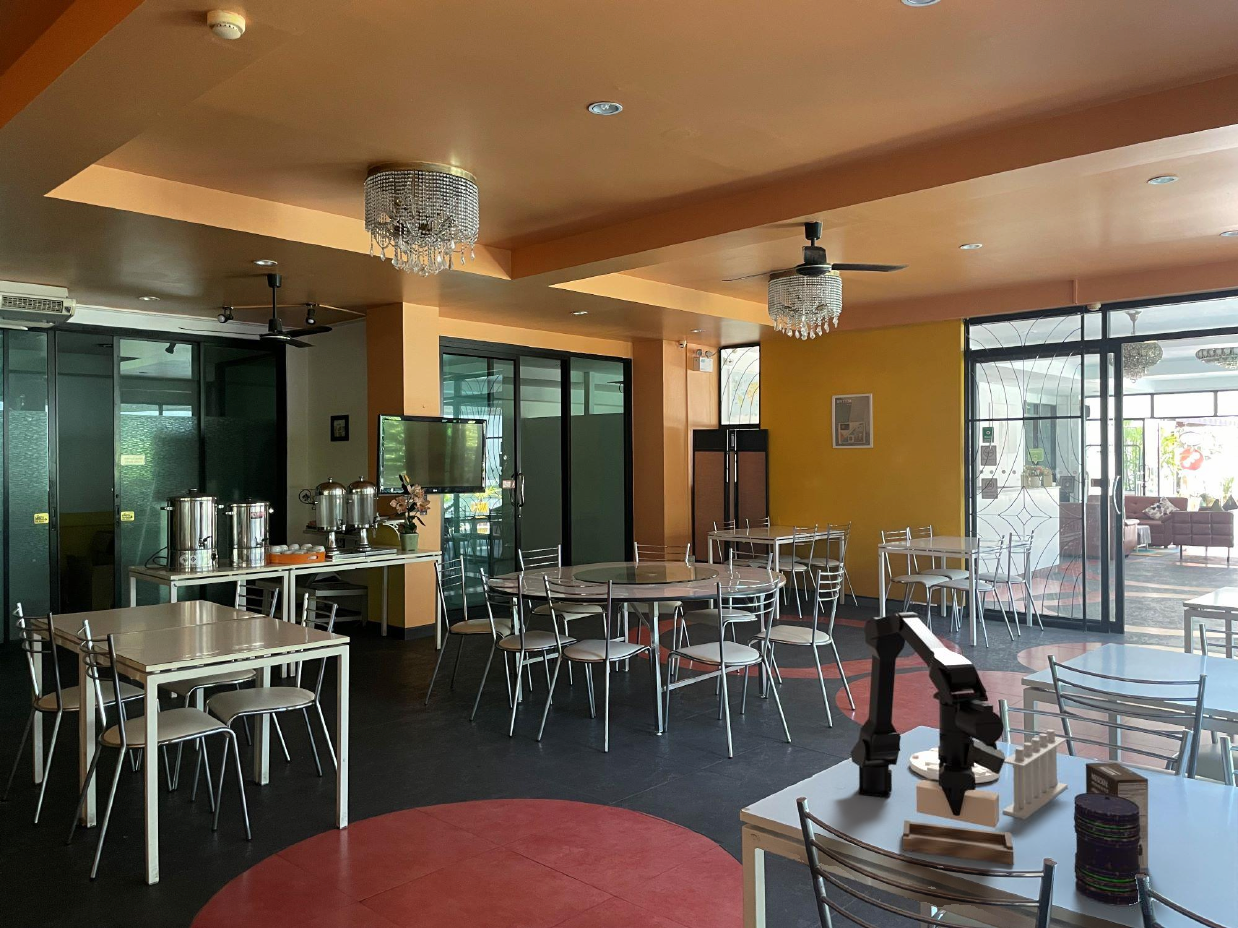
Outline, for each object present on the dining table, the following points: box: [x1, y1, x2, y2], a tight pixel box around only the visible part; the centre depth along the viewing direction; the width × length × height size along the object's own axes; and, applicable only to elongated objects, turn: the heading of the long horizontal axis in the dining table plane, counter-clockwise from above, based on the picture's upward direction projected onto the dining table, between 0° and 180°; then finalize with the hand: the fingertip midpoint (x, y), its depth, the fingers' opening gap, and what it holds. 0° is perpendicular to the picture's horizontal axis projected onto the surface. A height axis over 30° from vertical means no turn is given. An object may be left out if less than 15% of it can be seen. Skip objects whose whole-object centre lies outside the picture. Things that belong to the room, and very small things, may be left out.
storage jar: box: [1073, 792, 1141, 906], centre depth 149 cm, size 10×10×15 cm
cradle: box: [902, 819, 1015, 865], centre depth 167 cm, size 19×8×3 cm, turn 71°
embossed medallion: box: [909, 747, 1001, 784], centre depth 210 cm, size 20×20×3 cm
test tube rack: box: [1002, 729, 1068, 820], centre depth 191 cm, size 25×4×13 cm, turn 135°
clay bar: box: [915, 779, 1000, 829], centre depth 167 cm, size 14×4×5 cm, turn 57°
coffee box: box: [1085, 762, 1149, 869], centre depth 162 cm, size 9×6×16 cm
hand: (956, 810), depth 167 cm, fingers closed on clay bar, 4 cm apart
